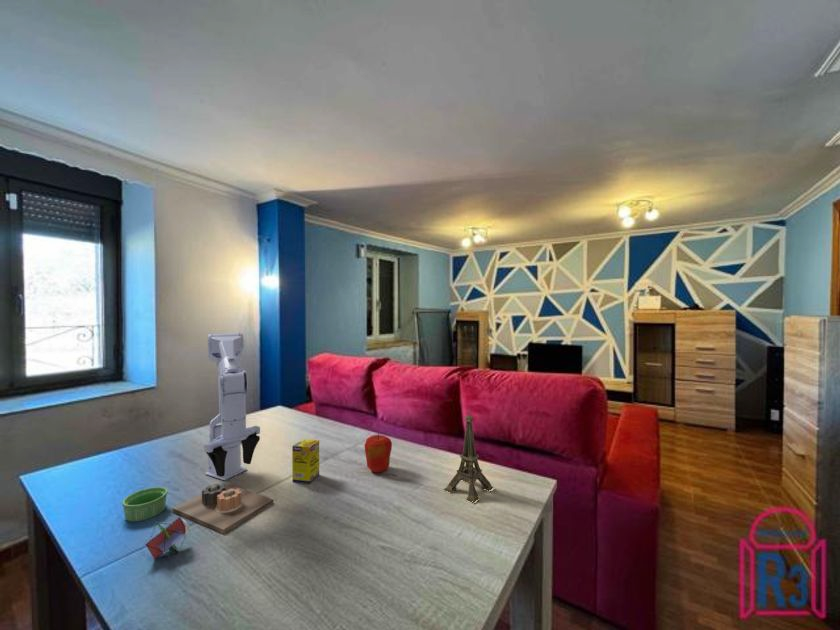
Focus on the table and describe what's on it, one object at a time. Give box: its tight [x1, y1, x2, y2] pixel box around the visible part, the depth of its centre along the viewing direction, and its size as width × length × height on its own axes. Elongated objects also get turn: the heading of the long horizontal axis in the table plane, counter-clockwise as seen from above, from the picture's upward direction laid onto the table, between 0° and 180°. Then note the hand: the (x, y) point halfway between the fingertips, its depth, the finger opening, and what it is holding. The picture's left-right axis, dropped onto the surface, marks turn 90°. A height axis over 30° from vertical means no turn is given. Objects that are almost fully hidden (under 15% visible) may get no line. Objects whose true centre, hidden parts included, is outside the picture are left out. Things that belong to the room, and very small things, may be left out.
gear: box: [217, 489, 241, 512], centre depth 89 cm, size 5×5×3 cm
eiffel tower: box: [442, 407, 494, 505], centre depth 98 cm, size 11×11×25 cm
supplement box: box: [291, 438, 320, 484], centre depth 105 cm, size 6×6×11 cm
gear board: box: [171, 482, 274, 535], centre depth 90 cm, size 20×14×4 cm
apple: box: [364, 433, 393, 474], centre depth 110 cm, size 9×8×12 cm
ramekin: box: [122, 486, 169, 522], centre depth 88 cm, size 9×9×4 cm
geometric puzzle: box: [145, 516, 191, 560], centre depth 73 cm, size 7×7×8 cm
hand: (234, 469), depth 91 cm, fingers open, 7 cm apart
